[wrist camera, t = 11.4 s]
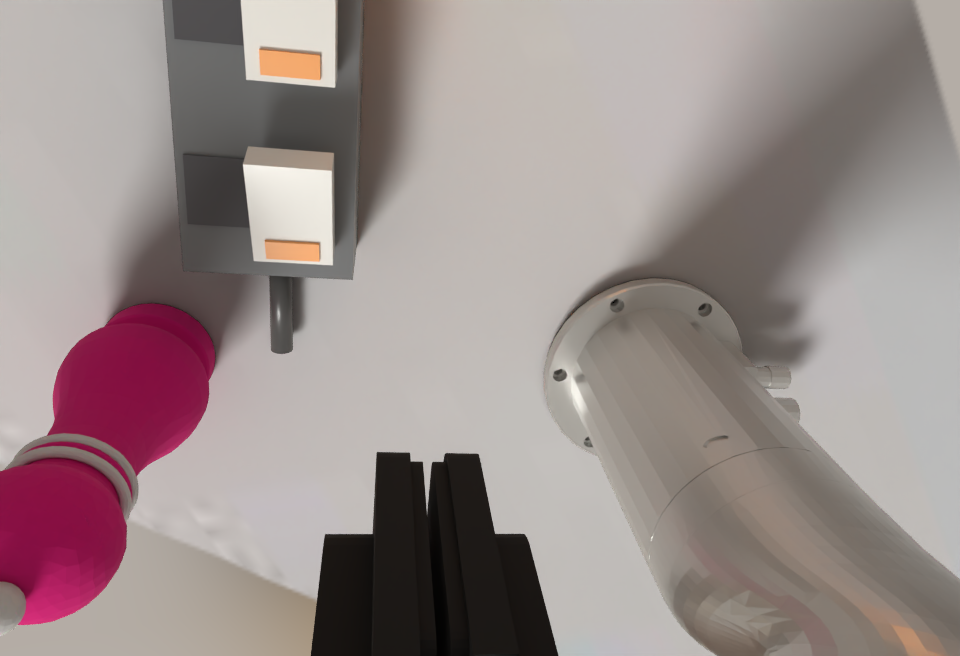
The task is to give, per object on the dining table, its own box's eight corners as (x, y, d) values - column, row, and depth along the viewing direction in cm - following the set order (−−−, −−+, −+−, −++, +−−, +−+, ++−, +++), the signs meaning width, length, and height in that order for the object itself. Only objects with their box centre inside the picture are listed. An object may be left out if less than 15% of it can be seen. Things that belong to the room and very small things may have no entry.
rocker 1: (338, -57, 28) (335, -50, 27) (337, 77, 31) (334, 88, 30) (242, -68, 27) (235, -62, 26) (251, 69, 30) (245, 80, 29)
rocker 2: (334, 153, 31) (331, 172, 30) (334, 246, 34) (332, 267, 33) (248, 146, 30) (242, 166, 29) (258, 242, 34) (253, 263, 33)
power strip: (373, -297, 30) (370, -355, 25) (353, 344, 42) (349, 390, 37) (173, -331, 29) (128, -399, 24) (212, 338, 41) (188, 385, 36)
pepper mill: (83, 290, 39) (-177, 544, 21) (221, 296, 40) (86, 542, 22) (100, 404, 42) (-116, 712, 24) (227, 407, 43) (113, 703, 25)
